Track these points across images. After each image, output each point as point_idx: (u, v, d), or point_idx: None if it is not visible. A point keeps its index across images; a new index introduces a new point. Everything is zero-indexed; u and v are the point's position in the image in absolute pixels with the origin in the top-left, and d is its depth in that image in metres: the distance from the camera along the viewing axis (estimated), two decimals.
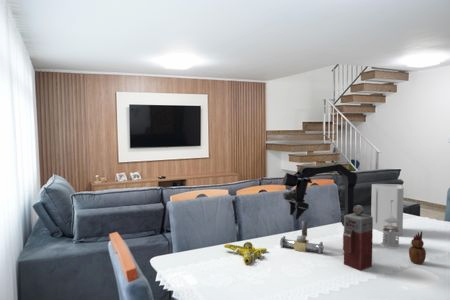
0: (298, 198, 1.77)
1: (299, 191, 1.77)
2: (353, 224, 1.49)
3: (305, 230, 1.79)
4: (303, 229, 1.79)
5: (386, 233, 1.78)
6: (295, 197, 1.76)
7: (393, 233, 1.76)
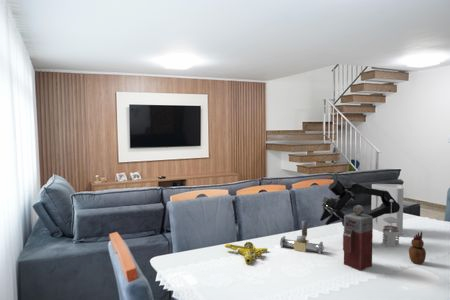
0: (336, 207, 1.79)
1: (340, 201, 1.80)
2: (353, 224, 1.49)
3: (305, 230, 1.79)
4: (303, 229, 1.79)
5: (386, 233, 1.78)
6: (334, 205, 1.79)
7: (393, 233, 1.76)
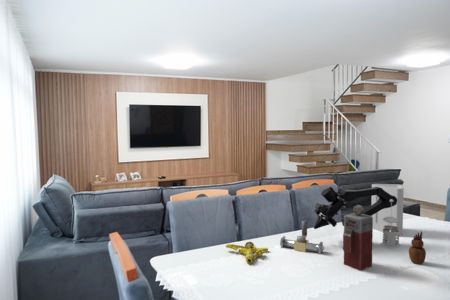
0: (328, 214, 1.79)
1: (332, 208, 1.79)
2: (353, 224, 1.49)
3: (305, 230, 1.79)
4: (303, 229, 1.79)
5: (386, 233, 1.78)
6: (326, 211, 1.79)
7: (393, 233, 1.76)
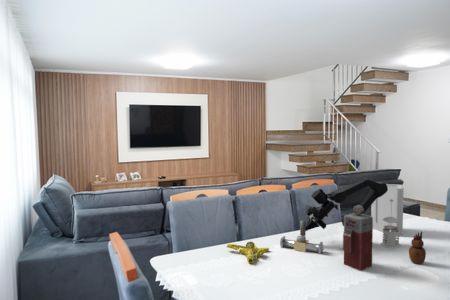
0: (318, 216, 1.79)
1: (323, 210, 1.79)
2: (353, 224, 1.49)
3: (304, 230, 1.79)
4: (302, 229, 1.79)
5: (386, 233, 1.78)
6: (316, 213, 1.79)
7: (393, 233, 1.76)
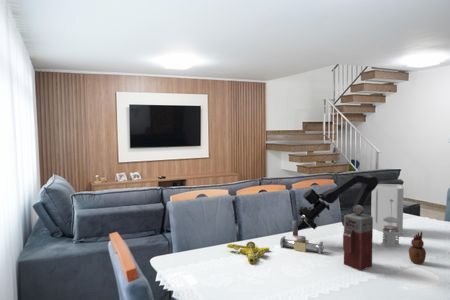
0: (310, 216, 1.79)
1: (314, 210, 1.79)
2: (353, 224, 1.49)
3: (297, 230, 1.80)
4: (296, 229, 1.80)
5: (386, 233, 1.78)
6: (308, 214, 1.79)
7: (393, 233, 1.76)
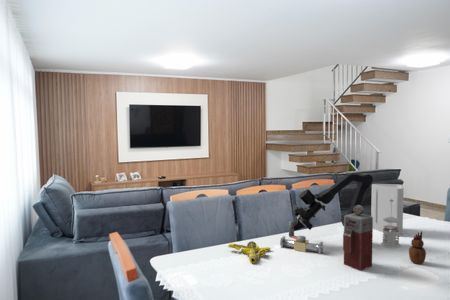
0: (305, 216, 1.79)
1: (310, 211, 1.79)
2: (353, 224, 1.49)
3: (293, 230, 1.79)
4: (292, 229, 1.79)
5: (386, 233, 1.78)
6: (303, 214, 1.78)
7: (393, 233, 1.76)
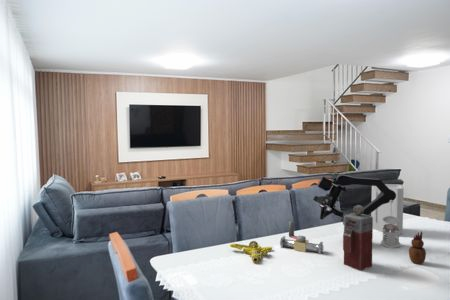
0: (332, 204, 1.83)
1: (334, 198, 1.82)
2: (353, 224, 1.49)
3: (293, 230, 1.79)
4: (292, 229, 1.79)
5: (386, 233, 1.77)
6: None
7: (393, 233, 1.75)
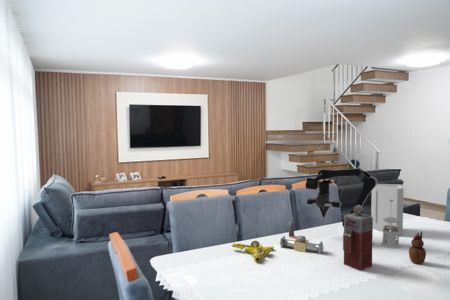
0: None
1: (327, 193, 1.89)
2: (353, 224, 1.49)
3: (293, 230, 1.79)
4: (292, 229, 1.79)
5: (386, 233, 1.78)
6: None
7: (393, 233, 1.76)
